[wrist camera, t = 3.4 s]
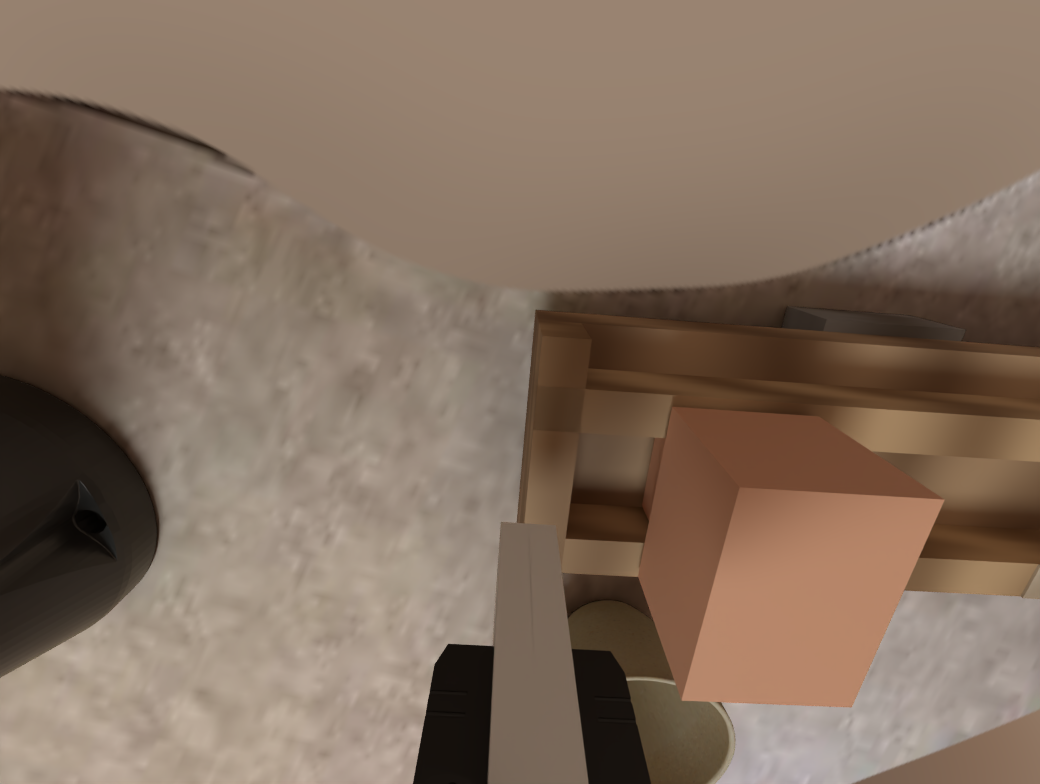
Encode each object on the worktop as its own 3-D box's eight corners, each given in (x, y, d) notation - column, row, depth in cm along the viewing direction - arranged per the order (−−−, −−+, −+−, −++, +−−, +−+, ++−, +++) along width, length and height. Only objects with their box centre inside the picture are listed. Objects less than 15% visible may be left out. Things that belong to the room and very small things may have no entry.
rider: (624, 536, 21) (681, 700, 14) (652, 382, 18) (739, 487, 11) (738, 542, 21) (851, 707, 14) (780, 391, 18) (944, 499, 11)
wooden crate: (514, 508, 26) (515, 617, 19) (533, 286, 22) (543, 321, 15) (1036, 537, 27) (1216, 649, 20) (1147, 333, 23) (1421, 385, 16)
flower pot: (574, 540, 27) (594, 648, 20) (717, 604, 29) (779, 722, 22) (493, 657, 30) (487, 785, 23) (627, 708, 32) (658, 841, 25)
